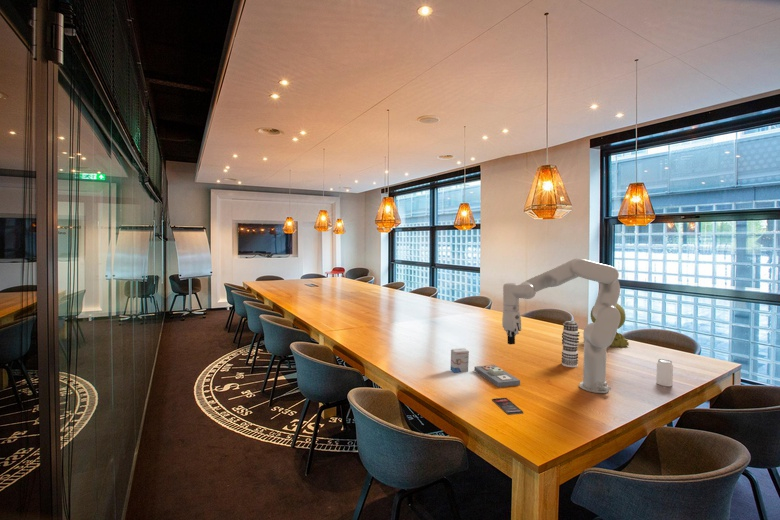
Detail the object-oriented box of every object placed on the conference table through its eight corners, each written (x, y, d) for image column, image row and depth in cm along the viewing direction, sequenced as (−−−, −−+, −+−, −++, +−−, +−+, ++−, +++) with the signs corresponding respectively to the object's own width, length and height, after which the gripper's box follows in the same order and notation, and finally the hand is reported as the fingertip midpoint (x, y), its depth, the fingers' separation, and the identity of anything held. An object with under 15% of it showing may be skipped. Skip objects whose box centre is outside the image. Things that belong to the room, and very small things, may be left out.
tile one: (511, 383, 187) (511, 378, 186) (502, 384, 185) (502, 379, 185) (505, 379, 192) (505, 374, 191) (496, 380, 190) (496, 375, 190)
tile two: (503, 375, 194) (503, 369, 194) (494, 376, 192) (494, 370, 192) (497, 371, 199) (497, 366, 198) (489, 372, 197) (489, 367, 197)
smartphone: (506, 397, 170) (524, 412, 155) (506, 399, 170) (524, 414, 155) (491, 398, 168) (507, 413, 154) (491, 400, 169) (507, 415, 154)
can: (656, 381, 192) (657, 357, 191) (672, 384, 188) (673, 360, 187) (655, 384, 187) (656, 361, 186) (671, 388, 183) (672, 363, 182)
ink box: (454, 373, 202) (454, 351, 201) (450, 370, 206) (450, 348, 206) (468, 371, 204) (469, 350, 203) (464, 368, 209) (464, 347, 208)
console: (520, 385, 186) (520, 380, 186) (498, 387, 182) (498, 382, 182) (493, 369, 209) (494, 364, 209) (474, 370, 205) (474, 366, 205)
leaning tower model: (580, 368, 211) (582, 324, 210) (563, 366, 213) (564, 323, 211) (576, 362, 220) (577, 320, 219) (559, 361, 222) (560, 319, 220)
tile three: (495, 373, 201) (495, 368, 201) (486, 373, 200) (486, 369, 199) (490, 369, 206) (490, 365, 206) (481, 370, 205) (481, 365, 204)
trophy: (582, 338, 275) (583, 297, 274) (613, 339, 274) (614, 298, 273) (598, 347, 253) (599, 303, 251) (631, 347, 252) (633, 303, 250)
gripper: (526, 309, 183) (526, 347, 184) (508, 305, 198) (508, 339, 199) (513, 310, 181) (513, 348, 182) (496, 306, 196) (496, 341, 196)
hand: (511, 343), depth 190 cm, fingers closed
